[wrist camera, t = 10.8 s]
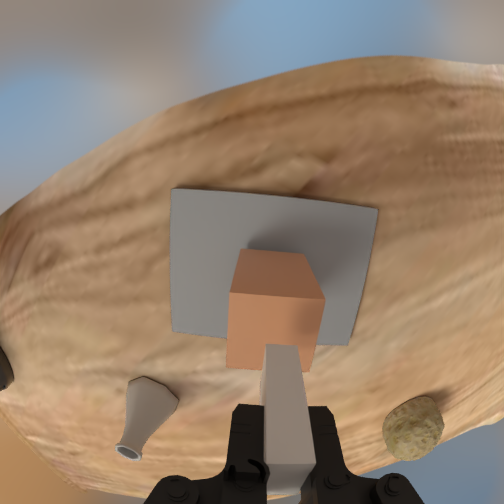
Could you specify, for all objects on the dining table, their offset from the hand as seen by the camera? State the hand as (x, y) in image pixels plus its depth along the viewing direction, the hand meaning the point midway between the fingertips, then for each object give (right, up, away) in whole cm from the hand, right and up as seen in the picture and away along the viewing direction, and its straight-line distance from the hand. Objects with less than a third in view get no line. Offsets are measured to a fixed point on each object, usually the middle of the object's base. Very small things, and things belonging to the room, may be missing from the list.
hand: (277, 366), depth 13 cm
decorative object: (+22, -19, +19) cm, 35 cm away
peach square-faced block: (0, +3, +11) cm, 11 cm away
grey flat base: (0, +4, +13) cm, 13 cm away
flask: (-14, -13, +19) cm, 27 cm away
